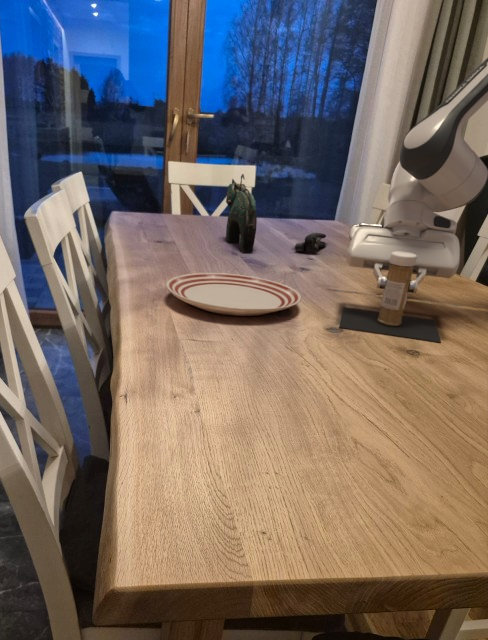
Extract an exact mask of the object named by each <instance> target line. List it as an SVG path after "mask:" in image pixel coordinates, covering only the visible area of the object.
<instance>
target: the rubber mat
mask: <svg viewBox="0 0 488 640" xmlns="http://www.w3.org/2000/svg"><path fill="white" fill-rule="evenodd" d="M379 313H380V311H375V310H369V309H368V310H367V309H361V308H354V307H347V306H343V307H342V312H341V317H340V322H339V326H338V328H339V329H341V330H349V331H356V332H364V333H369V334H370V333H371V334H375V335H382V336H384V335H385V336H390V337H397V338H402V339H403V338H404V339H411V340H418V341H423V342H424V341H425V342H431V343H437V344H441V343H442V340H441V337H440V334H439V330H438V326H437V323H436V320H435V319H433V318H425V317H419V316H411V315H404V314H403V316H402V323H401V325H399V326H387V325H383V324H381V323H379V322H378V317H379Z"/></svg>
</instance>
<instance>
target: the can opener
mask: <svg viewBox="0 0 488 640" xmlns="http://www.w3.org/2000/svg"><path fill="white" fill-rule="evenodd" d="M326 237H327V234H325V233H323V232H322V233H321V232H316V231H312V232H311V233H310V234H308V235H306V236H305V238H304V241H303V242H298V243H296V244H295V245H294V249H295V251H296V252H304V253H305V252H307V253H308V254H315V253H317V252H319V248H323V247H325V246H327V243H326V241H322V239H325V238H326Z"/></svg>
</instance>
